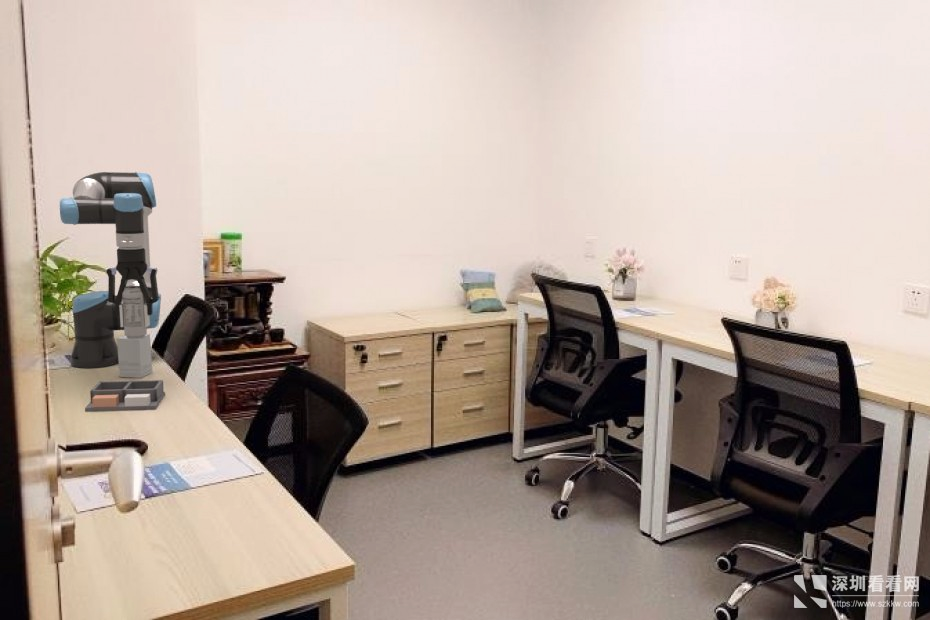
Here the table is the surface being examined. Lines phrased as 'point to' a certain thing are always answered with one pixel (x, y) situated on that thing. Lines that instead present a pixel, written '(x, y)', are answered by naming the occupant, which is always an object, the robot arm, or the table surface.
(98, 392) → the socket deck
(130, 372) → the supplement box
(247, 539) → the table surface
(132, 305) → the energy drink can
